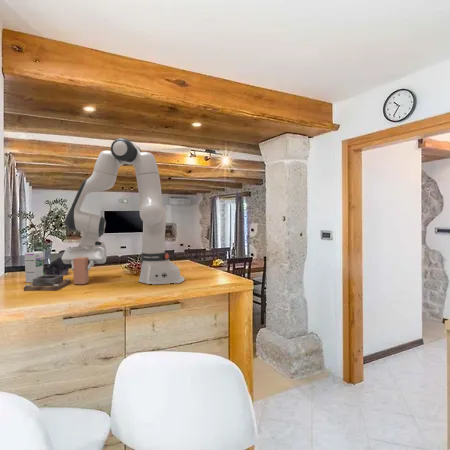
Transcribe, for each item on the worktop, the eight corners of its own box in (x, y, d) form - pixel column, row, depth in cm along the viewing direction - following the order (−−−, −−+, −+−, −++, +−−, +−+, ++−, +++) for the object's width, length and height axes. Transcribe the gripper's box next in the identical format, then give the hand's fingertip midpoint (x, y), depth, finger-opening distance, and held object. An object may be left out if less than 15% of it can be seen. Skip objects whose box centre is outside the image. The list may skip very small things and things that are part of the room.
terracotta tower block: (88, 281, 153) (88, 257, 153) (84, 284, 148) (84, 258, 148) (77, 281, 153) (77, 257, 153) (73, 284, 148) (73, 258, 148)
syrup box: (35, 283, 152) (35, 252, 151) (24, 282, 153) (24, 252, 152) (44, 280, 157) (44, 251, 157) (34, 280, 158) (33, 250, 158)
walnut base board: (70, 283, 151) (70, 274, 151) (57, 290, 137) (57, 280, 137) (40, 283, 150) (40, 274, 150) (23, 290, 136) (23, 280, 136)
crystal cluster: (35, 277, 168) (35, 259, 167) (54, 271, 181) (54, 254, 180) (57, 280, 165) (57, 262, 164) (75, 274, 179) (75, 256, 177)
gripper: (64, 242, 156) (55, 266, 147) (107, 242, 158) (100, 265, 148) (68, 250, 161) (59, 273, 151) (109, 250, 162) (104, 273, 153)
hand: (80, 269), depth 150 cm, fingers closed on terracotta tower block, 5 cm apart
